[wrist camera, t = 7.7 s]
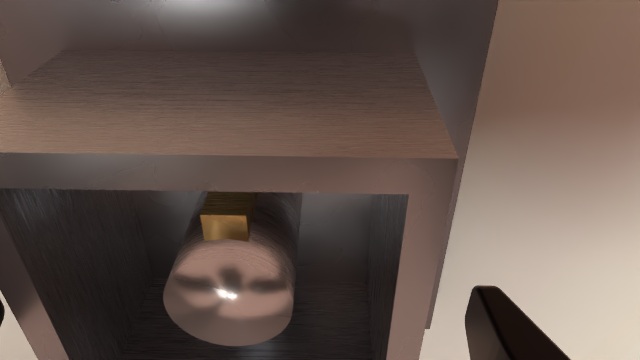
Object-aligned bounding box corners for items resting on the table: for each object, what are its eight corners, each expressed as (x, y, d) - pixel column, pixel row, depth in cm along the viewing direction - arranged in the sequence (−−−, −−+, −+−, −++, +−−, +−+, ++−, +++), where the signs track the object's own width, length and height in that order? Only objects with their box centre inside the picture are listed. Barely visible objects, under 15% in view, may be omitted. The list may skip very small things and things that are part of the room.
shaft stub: (424, 303, 15) (454, 447, 12) (115, 297, 15) (47, 438, 12) (488, -31, 10) (586, 42, 6) (-2, -35, 10) (-205, 34, 6)
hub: (385, 296, 14) (403, 437, 10) (137, 292, 14) (77, 430, 11) (415, 54, 10) (458, 158, 6) (62, 49, 10) (-75, 151, 6)
